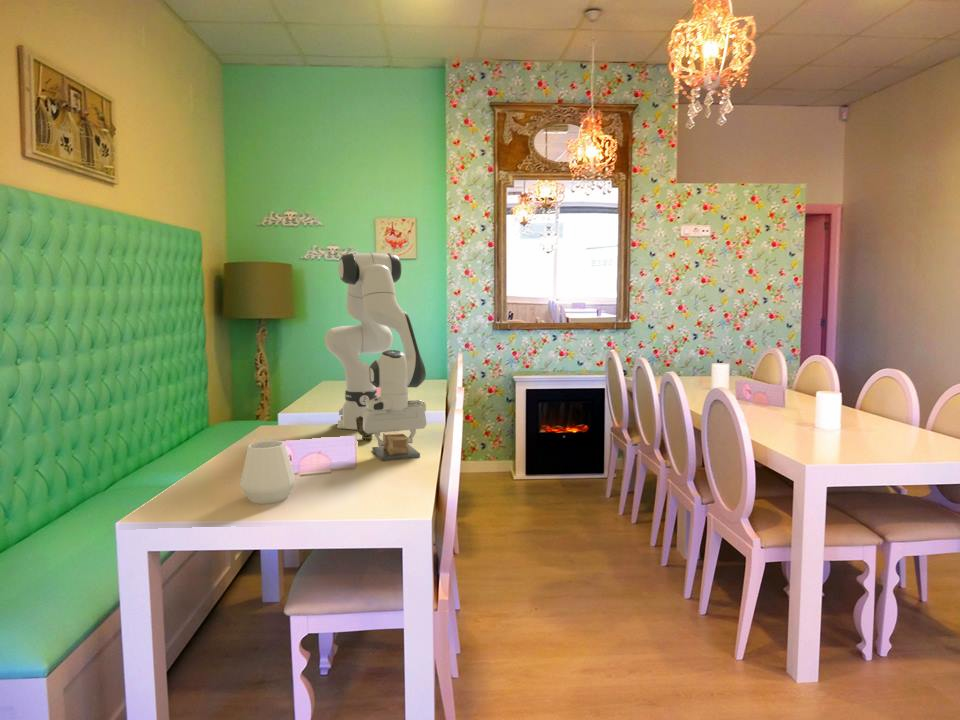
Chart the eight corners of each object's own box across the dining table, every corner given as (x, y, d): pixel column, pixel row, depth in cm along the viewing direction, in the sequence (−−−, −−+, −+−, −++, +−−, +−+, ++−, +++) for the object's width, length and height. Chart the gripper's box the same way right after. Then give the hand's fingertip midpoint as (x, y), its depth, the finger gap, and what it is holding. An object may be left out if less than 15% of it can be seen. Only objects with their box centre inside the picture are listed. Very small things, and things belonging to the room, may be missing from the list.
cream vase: (231, 498, 165) (228, 444, 164) (278, 486, 175) (276, 435, 173) (257, 510, 156) (254, 453, 155) (306, 496, 166) (304, 443, 164)
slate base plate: (372, 450, 213) (371, 438, 212) (407, 447, 217) (407, 435, 217) (382, 461, 200) (382, 448, 199) (420, 457, 204) (419, 444, 204)
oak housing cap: (383, 447, 212) (383, 432, 211) (399, 446, 214) (399, 431, 213) (391, 454, 203) (390, 439, 202) (408, 452, 205) (407, 437, 204)
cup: (375, 441, 225) (375, 419, 224) (354, 442, 225) (353, 419, 225) (379, 437, 233) (378, 415, 232) (358, 437, 233) (358, 415, 232)
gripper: (422, 398, 213) (423, 439, 215) (360, 402, 206) (362, 445, 207) (428, 401, 208) (429, 443, 209) (365, 405, 200) (366, 449, 201)
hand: (395, 444), depth 208 cm, fingers open, 8 cm apart
